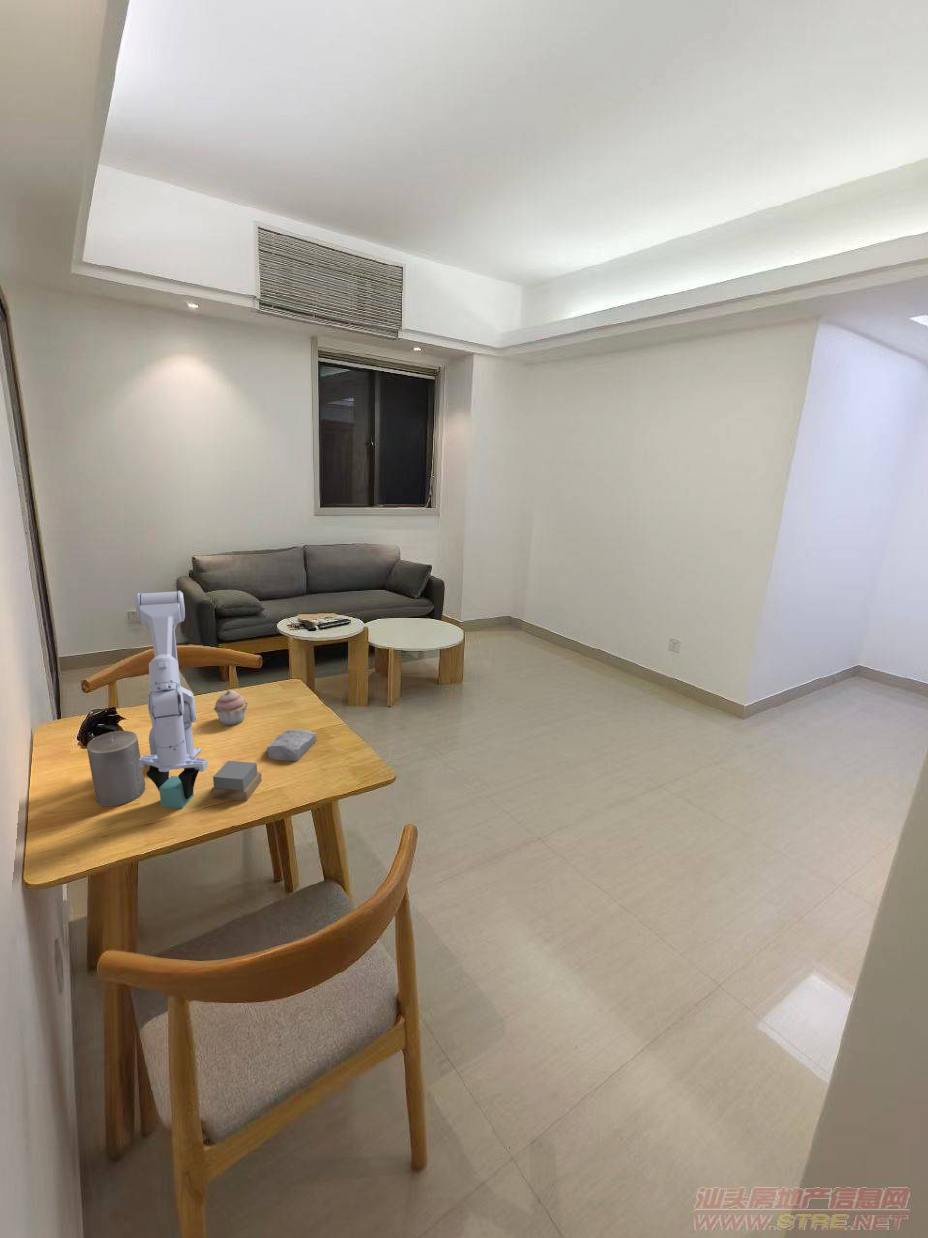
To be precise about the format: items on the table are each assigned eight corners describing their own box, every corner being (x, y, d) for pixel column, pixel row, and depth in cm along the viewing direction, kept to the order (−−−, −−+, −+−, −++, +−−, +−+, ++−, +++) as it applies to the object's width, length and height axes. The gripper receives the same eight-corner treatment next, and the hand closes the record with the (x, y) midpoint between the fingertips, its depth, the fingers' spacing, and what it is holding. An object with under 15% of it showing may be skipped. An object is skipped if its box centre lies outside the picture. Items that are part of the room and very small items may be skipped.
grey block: (214, 788, 126) (212, 776, 125) (229, 771, 133) (228, 760, 132) (243, 791, 126) (242, 779, 125) (257, 774, 133) (256, 763, 132)
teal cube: (161, 806, 123) (159, 788, 122) (173, 794, 127) (171, 776, 126) (182, 808, 123) (180, 789, 121) (194, 795, 127) (191, 777, 126)
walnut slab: (213, 800, 127) (211, 789, 126) (229, 781, 135) (228, 770, 134) (247, 803, 126) (246, 791, 126) (261, 783, 134) (261, 772, 133)
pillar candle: (113, 781, 132) (104, 724, 127) (154, 783, 131) (145, 726, 127) (85, 806, 122) (74, 746, 118) (129, 808, 122) (119, 748, 118)
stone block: (265, 764, 145) (299, 763, 142) (260, 747, 144) (295, 745, 141) (287, 744, 156) (320, 742, 154) (284, 728, 155) (316, 726, 153)
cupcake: (213, 717, 165) (210, 686, 162) (246, 711, 169) (244, 681, 166) (216, 731, 157) (213, 698, 154) (251, 724, 161) (248, 693, 158)
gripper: (126, 748, 117) (134, 804, 121) (193, 753, 117) (199, 808, 120) (147, 732, 124) (154, 785, 128) (210, 736, 123) (215, 790, 127)
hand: (177, 795), depth 125 cm, fingers closed on teal cube, 5 cm apart
